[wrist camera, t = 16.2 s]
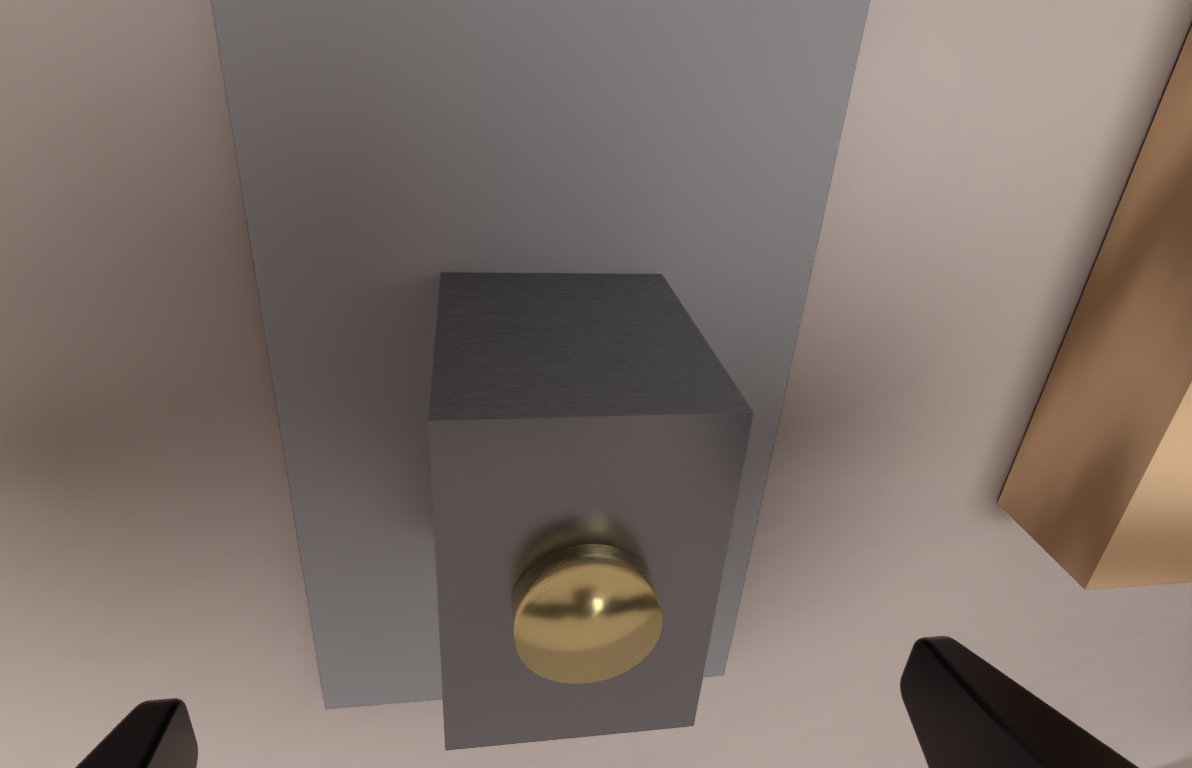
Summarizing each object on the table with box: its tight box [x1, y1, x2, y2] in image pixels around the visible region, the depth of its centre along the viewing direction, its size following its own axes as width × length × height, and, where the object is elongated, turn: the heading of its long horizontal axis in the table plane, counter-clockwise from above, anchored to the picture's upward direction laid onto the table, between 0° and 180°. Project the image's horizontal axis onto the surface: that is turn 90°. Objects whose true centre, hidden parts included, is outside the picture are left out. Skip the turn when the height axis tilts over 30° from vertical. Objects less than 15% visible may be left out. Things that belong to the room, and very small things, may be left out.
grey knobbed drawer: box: [428, 272, 754, 750], centre depth 12 cm, size 6×4×6 cm, turn 176°
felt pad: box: [211, 0, 870, 709], centre depth 15 cm, size 16×10×1 cm, turn 176°
